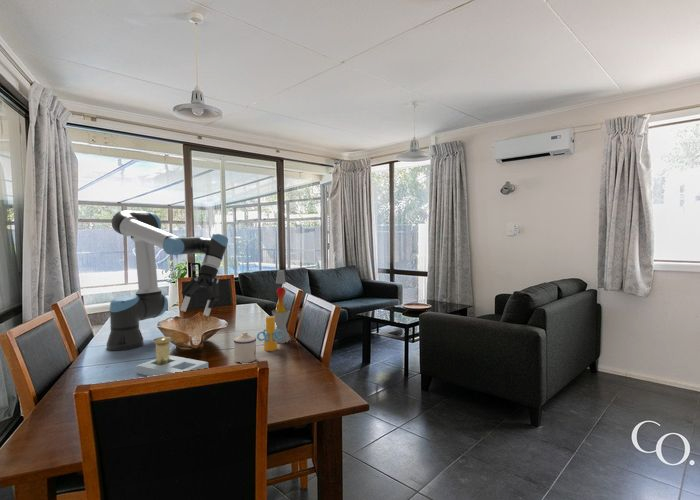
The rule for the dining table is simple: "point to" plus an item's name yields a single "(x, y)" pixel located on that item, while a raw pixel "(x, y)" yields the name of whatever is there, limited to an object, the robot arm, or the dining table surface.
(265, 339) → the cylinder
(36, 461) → the dining table surface
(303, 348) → the dining table surface
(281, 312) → the lava lamp
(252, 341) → the teacup with lid
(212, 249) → the robot arm
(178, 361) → the jig plate
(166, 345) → the brass sleeve
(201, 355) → the dining table surface
